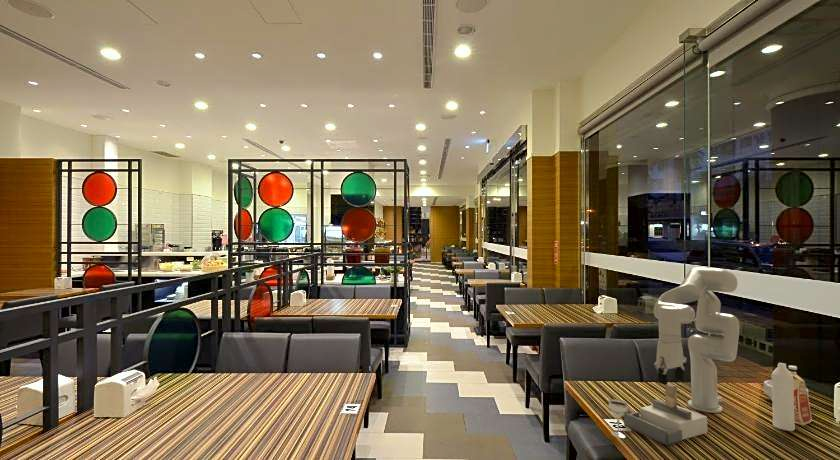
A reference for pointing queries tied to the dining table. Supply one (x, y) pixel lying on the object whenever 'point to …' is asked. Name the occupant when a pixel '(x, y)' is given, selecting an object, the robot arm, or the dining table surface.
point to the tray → (652, 430)
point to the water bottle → (783, 397)
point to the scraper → (671, 403)
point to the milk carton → (801, 401)
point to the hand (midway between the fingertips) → (671, 381)
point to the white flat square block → (675, 421)
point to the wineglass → (618, 413)
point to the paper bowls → (769, 388)
